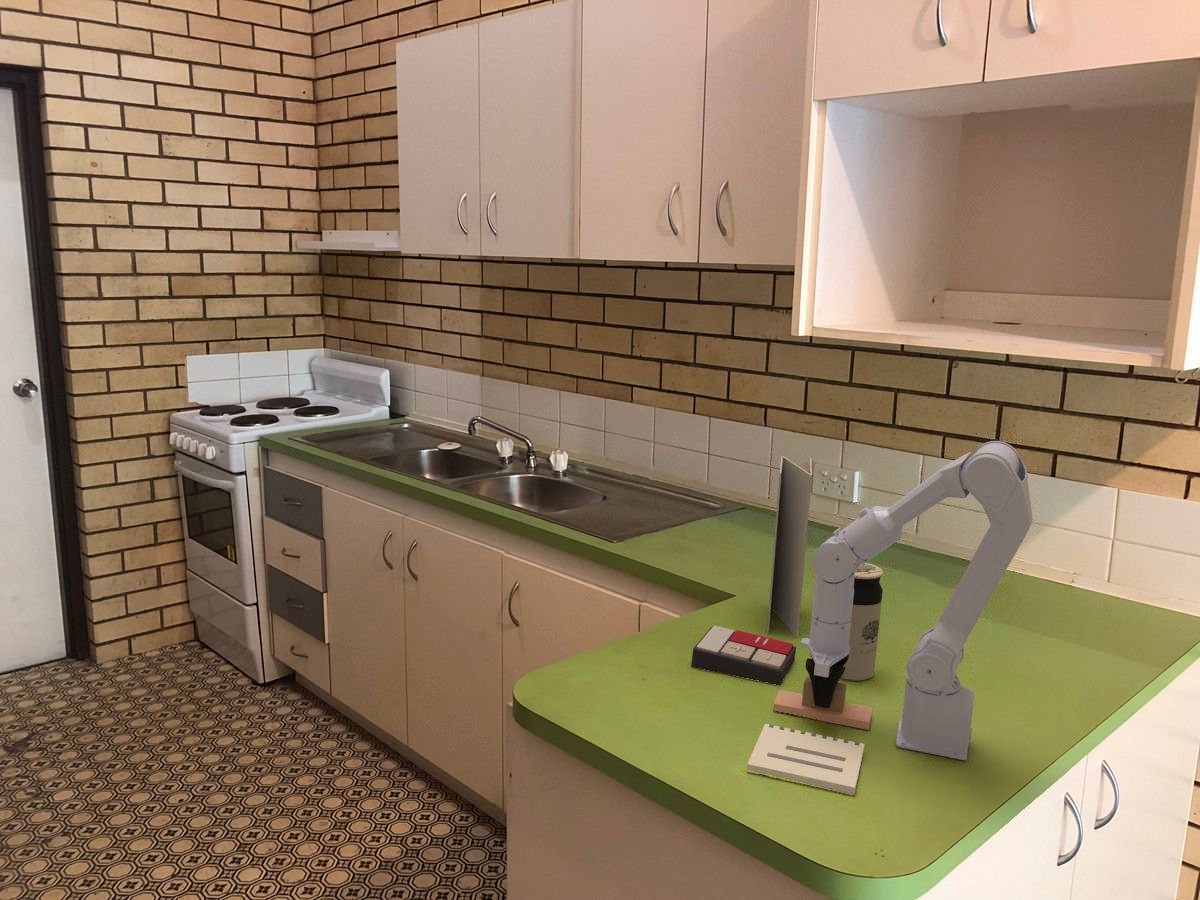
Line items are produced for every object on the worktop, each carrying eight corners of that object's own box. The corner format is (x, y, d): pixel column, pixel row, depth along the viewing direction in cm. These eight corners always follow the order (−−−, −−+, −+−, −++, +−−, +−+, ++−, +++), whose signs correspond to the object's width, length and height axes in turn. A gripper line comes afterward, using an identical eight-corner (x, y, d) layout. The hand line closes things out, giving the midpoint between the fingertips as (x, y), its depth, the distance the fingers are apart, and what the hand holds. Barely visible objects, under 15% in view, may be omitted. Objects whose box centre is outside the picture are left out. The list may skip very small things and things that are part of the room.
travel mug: (815, 664, 164) (824, 562, 160) (855, 658, 167) (865, 558, 163) (842, 684, 157) (853, 578, 153) (883, 678, 160) (895, 574, 156)
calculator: (782, 667, 155) (692, 644, 161) (779, 691, 156) (690, 668, 162) (797, 642, 165) (712, 621, 170) (794, 665, 166) (709, 644, 171)
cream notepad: (863, 751, 136) (864, 743, 136) (854, 796, 125) (855, 786, 125) (764, 731, 141) (765, 723, 141) (746, 772, 130) (747, 763, 130)
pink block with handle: (871, 714, 147) (874, 685, 146) (868, 730, 142) (871, 699, 141) (779, 696, 152) (781, 668, 151) (773, 710, 147) (775, 681, 146)
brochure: (798, 637, 175) (812, 475, 168) (766, 634, 176) (779, 472, 170) (798, 609, 189) (811, 458, 182) (769, 606, 190) (781, 455, 183)
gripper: (811, 596, 152) (804, 677, 155) (796, 629, 138) (788, 717, 141) (857, 603, 149) (849, 685, 152) (847, 638, 136) (838, 727, 139)
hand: (823, 701), depth 147 cm, fingers closed on pink block with handle, 2 cm apart
